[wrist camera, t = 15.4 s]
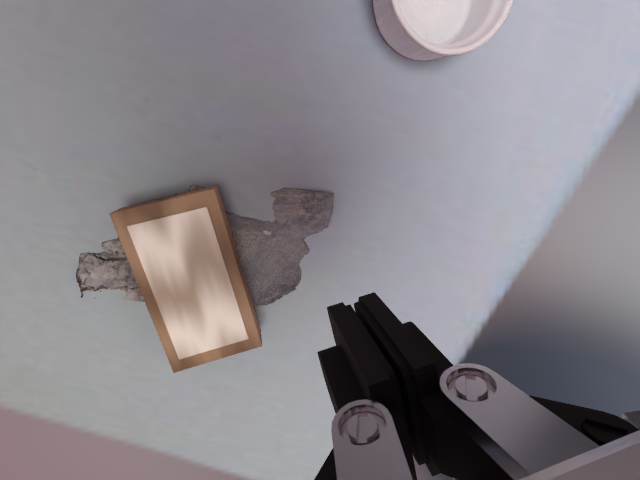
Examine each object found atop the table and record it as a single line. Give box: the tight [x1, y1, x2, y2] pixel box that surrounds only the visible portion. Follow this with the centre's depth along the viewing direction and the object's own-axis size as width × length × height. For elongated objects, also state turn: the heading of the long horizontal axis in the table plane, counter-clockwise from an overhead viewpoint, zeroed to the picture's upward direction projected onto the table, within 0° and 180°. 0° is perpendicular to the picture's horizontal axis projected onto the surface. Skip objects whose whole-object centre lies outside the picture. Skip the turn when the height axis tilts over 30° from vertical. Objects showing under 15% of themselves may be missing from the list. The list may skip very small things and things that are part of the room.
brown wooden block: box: [109, 185, 262, 373], centre depth 24 cm, size 12×3×6 cm
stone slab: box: [76, 185, 334, 306], centre depth 26 cm, size 18×2×10 cm
